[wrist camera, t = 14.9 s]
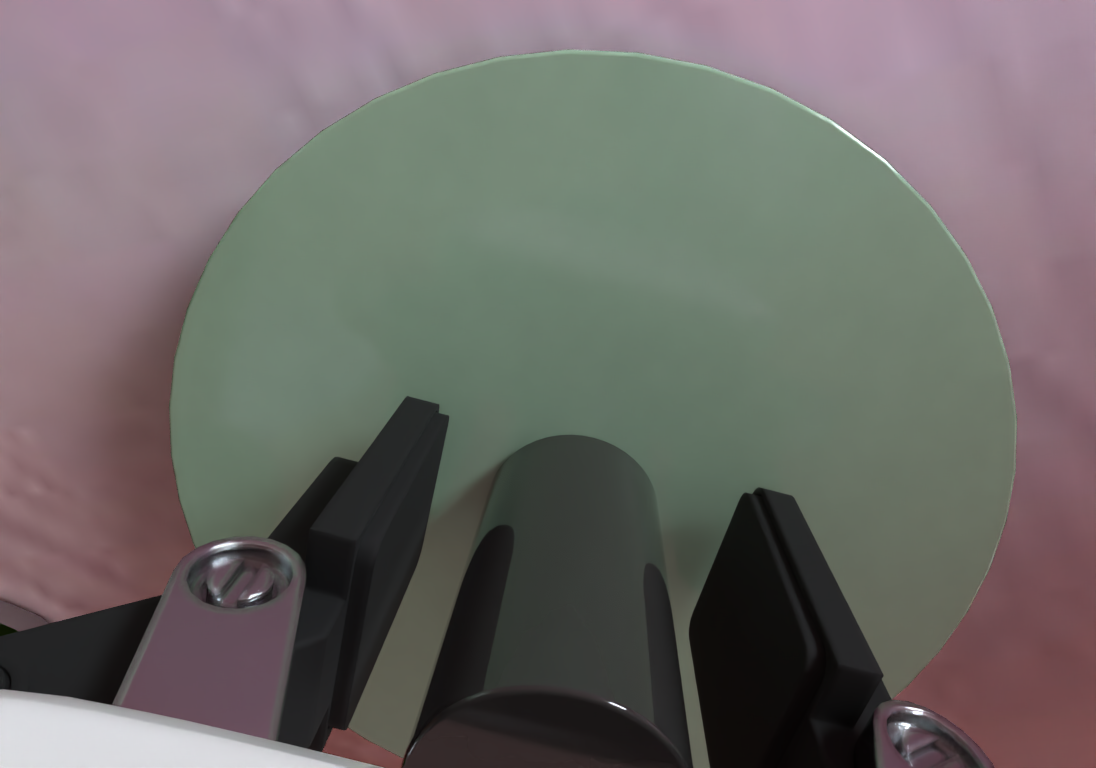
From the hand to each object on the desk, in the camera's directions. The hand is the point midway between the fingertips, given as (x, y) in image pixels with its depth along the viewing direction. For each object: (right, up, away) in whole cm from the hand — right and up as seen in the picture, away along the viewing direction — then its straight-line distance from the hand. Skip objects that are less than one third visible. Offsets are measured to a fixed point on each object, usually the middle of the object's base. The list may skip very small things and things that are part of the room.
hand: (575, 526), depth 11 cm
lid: (0, 0, +1) cm, 1 cm away
